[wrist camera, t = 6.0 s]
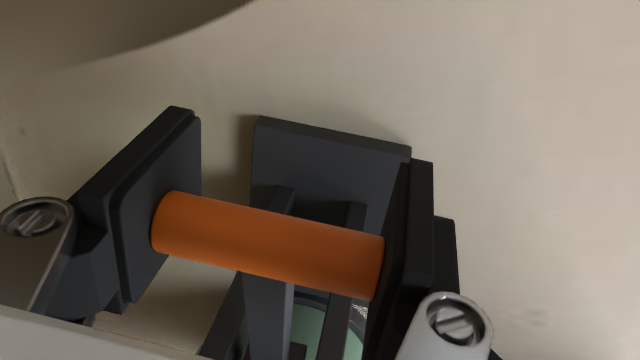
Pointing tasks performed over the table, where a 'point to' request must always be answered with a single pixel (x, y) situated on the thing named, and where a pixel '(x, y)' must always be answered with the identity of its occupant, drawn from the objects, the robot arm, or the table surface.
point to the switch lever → (269, 260)
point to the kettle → (310, 323)
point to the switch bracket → (311, 212)
